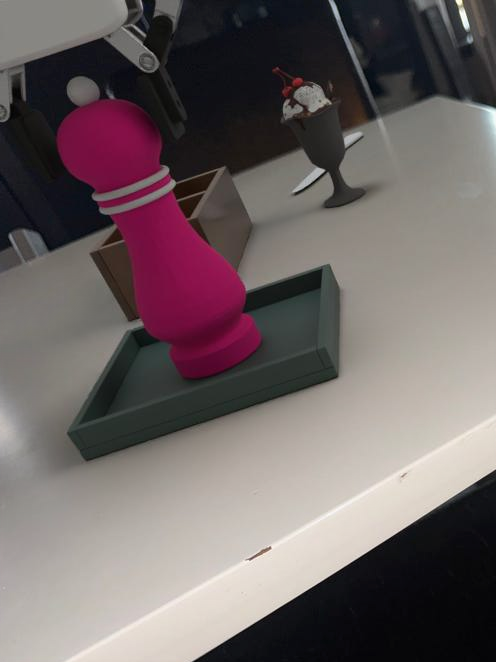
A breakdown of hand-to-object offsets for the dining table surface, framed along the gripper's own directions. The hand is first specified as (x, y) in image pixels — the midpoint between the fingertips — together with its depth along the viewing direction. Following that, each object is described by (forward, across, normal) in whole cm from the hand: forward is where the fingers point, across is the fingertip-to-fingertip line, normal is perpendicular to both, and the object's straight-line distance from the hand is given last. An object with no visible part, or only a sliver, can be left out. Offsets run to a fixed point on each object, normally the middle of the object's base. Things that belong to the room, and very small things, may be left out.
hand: (117, 154), depth 48 cm
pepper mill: (+15, 0, 0) cm, 15 cm away
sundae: (+16, -9, -34) cm, 39 cm away
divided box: (+16, +7, -26) cm, 32 cm away
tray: (+16, 0, 0) cm, 16 cm away
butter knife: (+16, -7, -54) cm, 57 cm away
